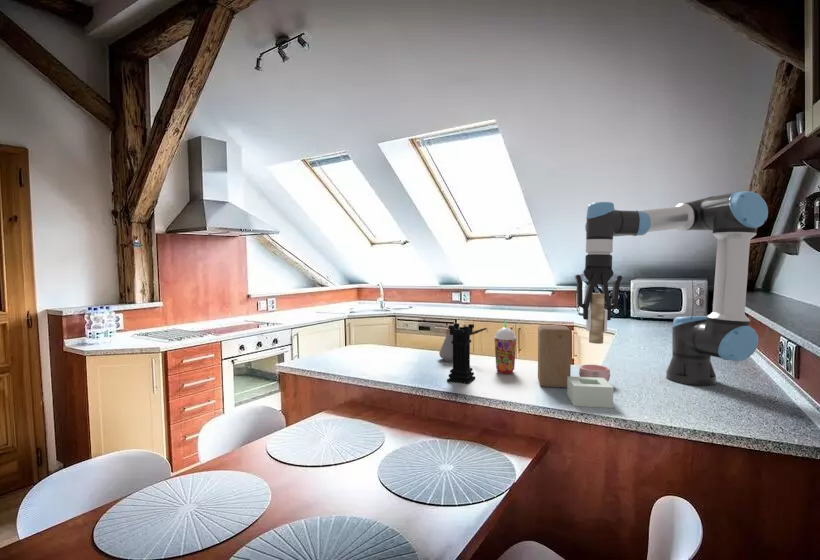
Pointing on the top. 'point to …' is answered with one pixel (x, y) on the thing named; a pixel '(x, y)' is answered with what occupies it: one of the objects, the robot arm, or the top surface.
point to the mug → (594, 371)
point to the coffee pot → (451, 346)
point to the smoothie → (505, 350)
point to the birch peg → (597, 318)
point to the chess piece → (461, 354)
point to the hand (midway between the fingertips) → (596, 330)
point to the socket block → (590, 392)
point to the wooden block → (554, 355)
